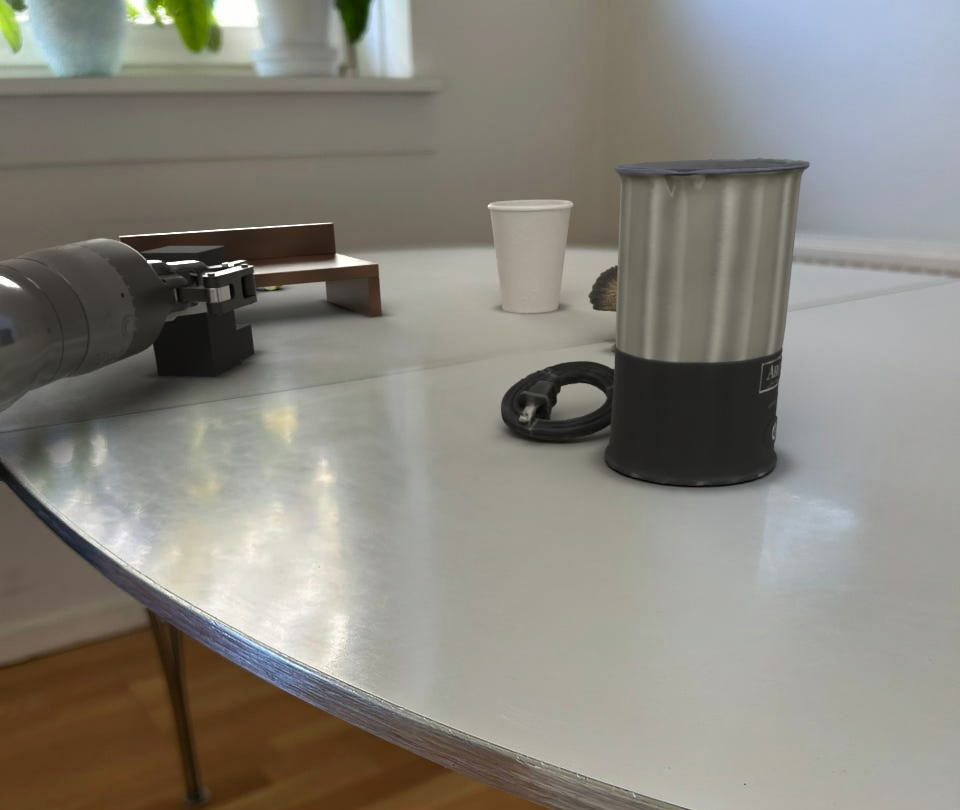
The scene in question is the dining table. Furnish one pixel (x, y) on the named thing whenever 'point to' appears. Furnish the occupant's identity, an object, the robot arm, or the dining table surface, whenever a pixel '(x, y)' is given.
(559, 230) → the dixie cup
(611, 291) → the eagle figurine
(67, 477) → the dining table surface
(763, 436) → the milk frother
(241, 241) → the wooden bench
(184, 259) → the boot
